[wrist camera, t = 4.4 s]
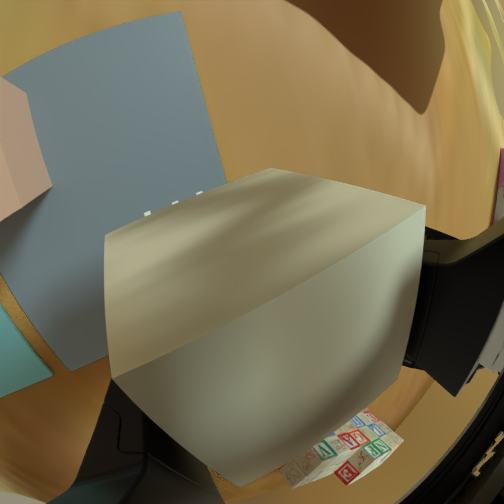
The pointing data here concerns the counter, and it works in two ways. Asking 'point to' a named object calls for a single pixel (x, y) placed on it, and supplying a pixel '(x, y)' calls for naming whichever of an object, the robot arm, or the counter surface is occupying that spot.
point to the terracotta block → (18, 152)
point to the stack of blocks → (344, 452)
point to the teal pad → (17, 359)
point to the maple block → (262, 313)
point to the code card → (103, 168)
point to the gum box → (500, 192)
